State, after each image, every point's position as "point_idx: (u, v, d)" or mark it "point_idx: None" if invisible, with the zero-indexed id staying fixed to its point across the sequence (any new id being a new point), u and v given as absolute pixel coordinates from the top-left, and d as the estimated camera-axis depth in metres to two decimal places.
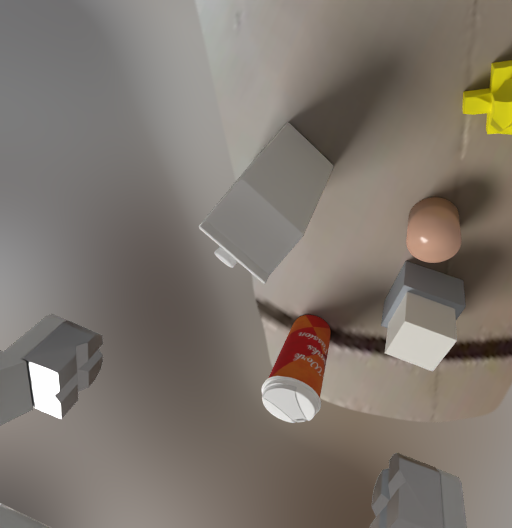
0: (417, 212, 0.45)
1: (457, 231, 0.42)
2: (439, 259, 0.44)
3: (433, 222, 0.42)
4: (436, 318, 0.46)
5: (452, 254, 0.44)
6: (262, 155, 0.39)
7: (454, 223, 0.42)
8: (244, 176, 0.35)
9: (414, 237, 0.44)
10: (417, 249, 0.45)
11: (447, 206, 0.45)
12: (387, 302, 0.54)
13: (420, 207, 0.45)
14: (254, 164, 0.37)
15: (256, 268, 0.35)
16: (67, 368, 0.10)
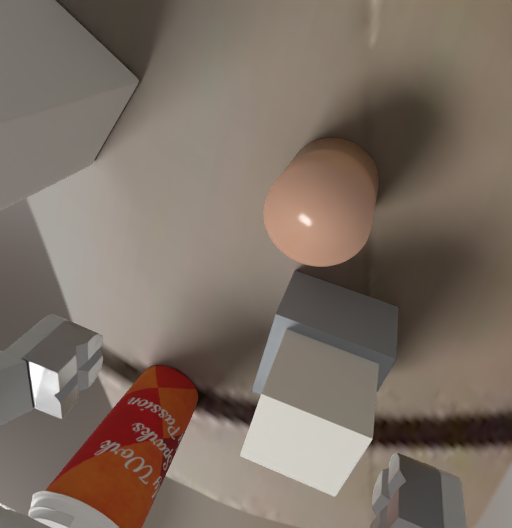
0: (290, 163, 0.22)
1: (361, 193, 0.19)
2: (333, 259, 0.21)
3: (310, 174, 0.19)
4: (334, 386, 0.22)
5: (357, 247, 0.20)
6: None
7: (355, 177, 0.19)
8: None
9: (277, 210, 0.21)
10: (287, 237, 0.21)
11: (349, 150, 0.22)
12: None
13: (299, 154, 0.22)
14: None
15: None
16: (67, 368, 0.10)
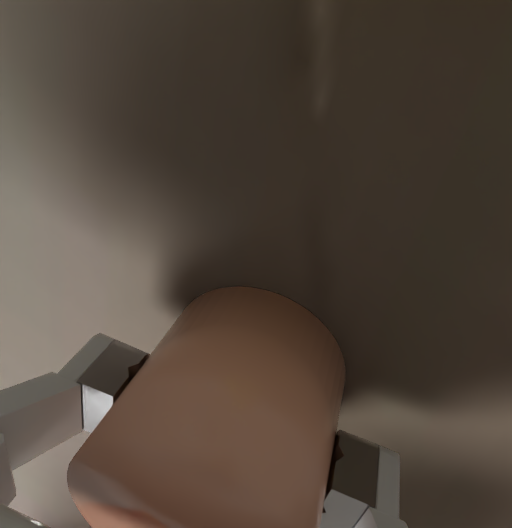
0: (150, 357, 0.10)
1: (278, 517, 0.07)
2: None
3: (148, 458, 0.07)
4: None
5: None
6: None
7: (264, 463, 0.07)
8: None
9: (98, 498, 0.09)
10: None
11: (274, 336, 0.10)
12: None
13: (173, 331, 0.11)
14: None
15: None
16: (121, 390, 0.10)
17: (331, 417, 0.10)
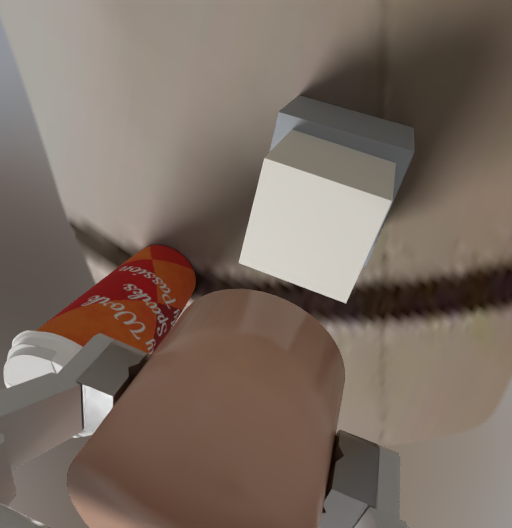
0: (149, 360, 0.10)
1: (278, 521, 0.07)
2: None
3: (148, 461, 0.07)
4: (347, 166, 0.19)
5: None
6: None
7: (264, 467, 0.07)
8: None
9: (97, 501, 0.09)
10: None
11: (273, 339, 0.10)
12: None
13: (172, 334, 0.11)
14: None
15: None
16: (121, 391, 0.10)
17: (330, 420, 0.10)
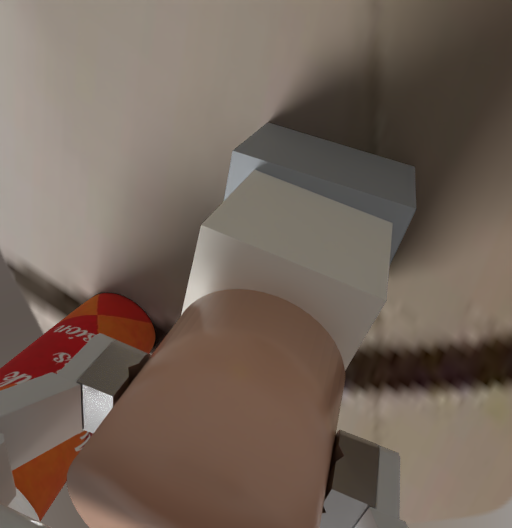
0: (149, 359, 0.10)
1: (277, 521, 0.07)
2: None
3: (148, 461, 0.07)
4: (324, 235, 0.13)
5: None
6: None
7: (264, 467, 0.07)
8: None
9: (97, 501, 0.09)
10: None
11: (273, 339, 0.10)
12: None
13: (172, 334, 0.11)
14: None
15: None
16: (121, 391, 0.10)
17: (330, 420, 0.10)
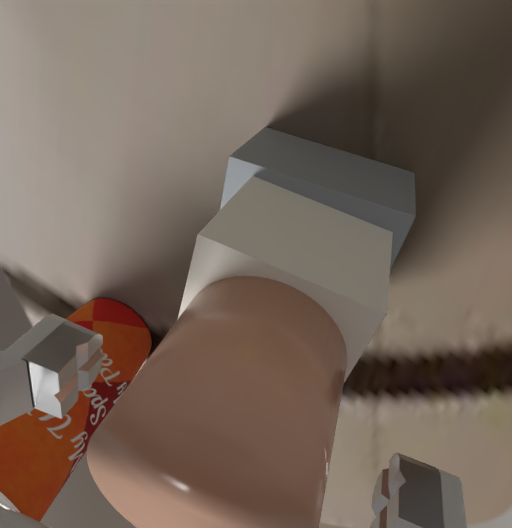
0: (162, 341, 0.11)
1: (286, 484, 0.08)
2: None
3: (166, 430, 0.08)
4: (323, 244, 0.13)
5: None
6: None
7: (274, 436, 0.08)
8: None
9: (115, 472, 0.09)
10: (146, 514, 0.10)
11: (280, 322, 0.10)
12: None
13: (184, 318, 0.11)
14: None
15: None
16: (67, 368, 0.10)
17: (334, 398, 0.10)
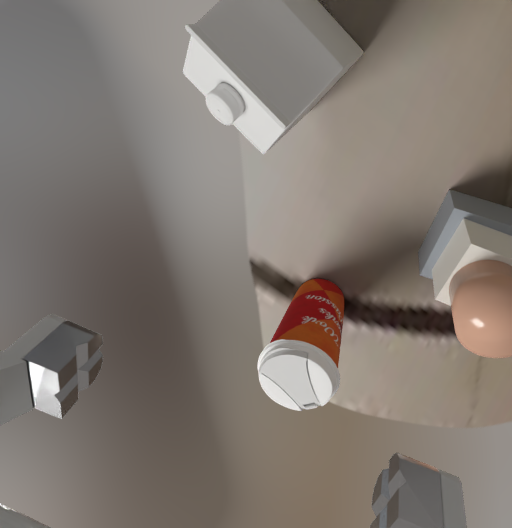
0: (466, 282, 0.31)
1: None
2: (506, 353, 0.29)
3: (498, 299, 0.28)
4: (509, 247, 0.33)
5: None
6: None
7: None
8: None
9: (467, 321, 0.29)
10: (472, 338, 0.30)
11: (510, 273, 0.30)
12: (425, 247, 0.41)
13: (470, 274, 0.31)
14: None
15: (271, 106, 0.23)
16: (67, 368, 0.10)
17: None
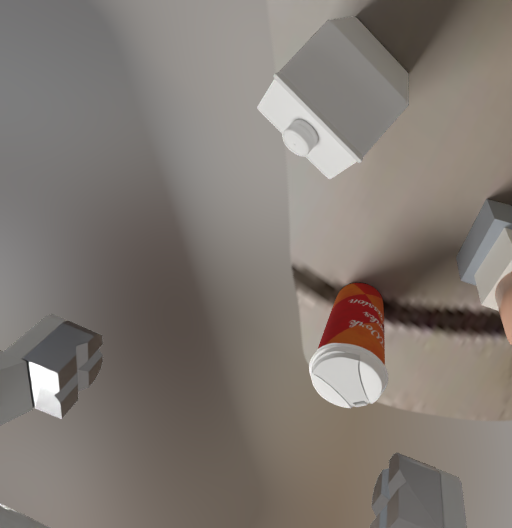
0: None
1: None
2: None
3: None
4: None
5: None
6: (342, 19, 0.30)
7: None
8: (331, 20, 0.26)
9: None
10: None
11: None
12: (464, 254, 0.43)
13: None
14: (337, 19, 0.28)
15: (348, 143, 0.25)
16: (67, 368, 0.10)
17: None
